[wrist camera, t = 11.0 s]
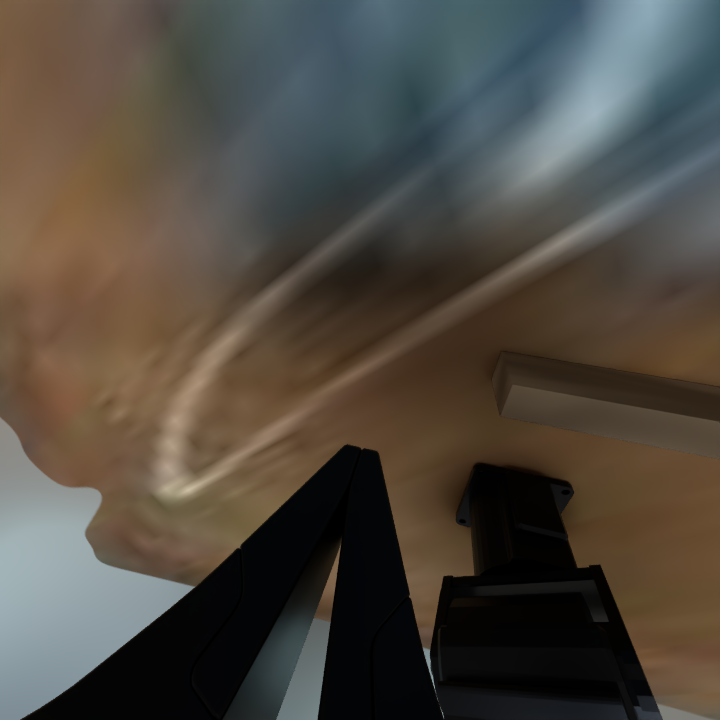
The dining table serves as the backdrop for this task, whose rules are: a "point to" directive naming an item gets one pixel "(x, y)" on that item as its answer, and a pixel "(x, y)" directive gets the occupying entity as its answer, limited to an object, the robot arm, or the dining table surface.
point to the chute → (609, 403)
